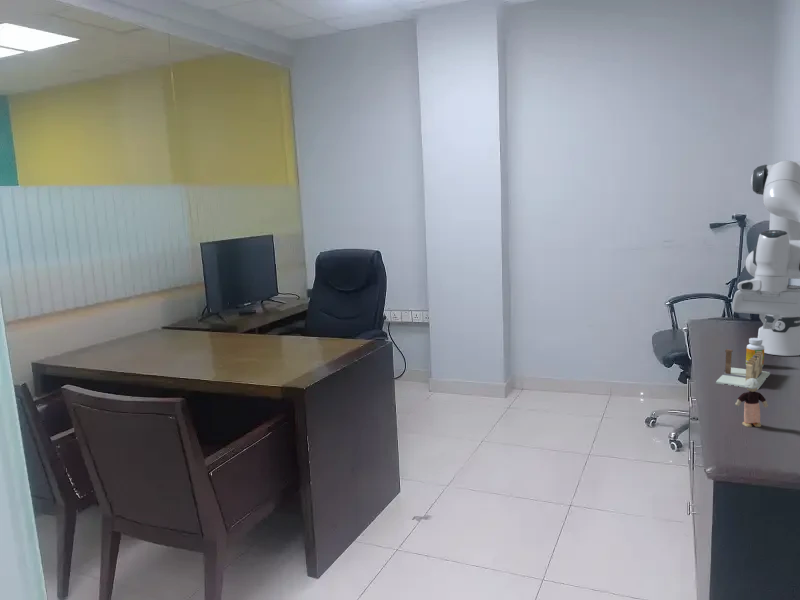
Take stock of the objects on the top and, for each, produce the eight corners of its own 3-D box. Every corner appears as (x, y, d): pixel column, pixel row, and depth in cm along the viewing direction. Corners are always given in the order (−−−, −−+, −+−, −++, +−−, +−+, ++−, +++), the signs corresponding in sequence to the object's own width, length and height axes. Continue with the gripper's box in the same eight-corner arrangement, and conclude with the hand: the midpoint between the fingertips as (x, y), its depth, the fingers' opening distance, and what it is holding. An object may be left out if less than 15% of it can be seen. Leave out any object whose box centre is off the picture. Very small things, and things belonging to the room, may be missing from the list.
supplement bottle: (754, 368, 210) (755, 341, 208) (742, 365, 215) (743, 338, 213) (767, 367, 211) (768, 339, 210) (754, 363, 216) (755, 336, 215)
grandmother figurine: (759, 421, 162) (762, 375, 160) (768, 426, 158) (771, 379, 156) (731, 423, 162) (733, 377, 160) (739, 428, 158) (741, 381, 156)
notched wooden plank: (750, 377, 197) (751, 356, 196) (755, 378, 196) (756, 357, 195) (745, 383, 191) (746, 362, 190) (750, 384, 190) (751, 363, 189)
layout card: (730, 368, 211) (730, 367, 211) (770, 373, 203) (770, 371, 203) (715, 383, 196) (715, 381, 196) (758, 389, 188) (758, 387, 188)
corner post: (725, 372, 205) (726, 349, 204) (731, 372, 204) (732, 349, 203) (724, 373, 204) (725, 350, 203) (730, 374, 203) (731, 350, 202)
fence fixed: (756, 371, 205) (757, 350, 203) (761, 372, 204) (762, 350, 202) (750, 378, 197) (751, 356, 196) (756, 378, 196) (757, 356, 195)
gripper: (813, 284, 180) (810, 330, 182) (736, 281, 193) (734, 324, 196) (810, 287, 176) (807, 334, 178) (731, 283, 189) (730, 327, 191)
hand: (768, 328), depth 187 cm, fingers closed
